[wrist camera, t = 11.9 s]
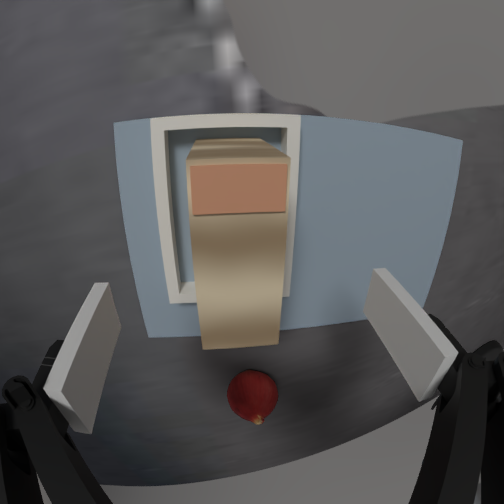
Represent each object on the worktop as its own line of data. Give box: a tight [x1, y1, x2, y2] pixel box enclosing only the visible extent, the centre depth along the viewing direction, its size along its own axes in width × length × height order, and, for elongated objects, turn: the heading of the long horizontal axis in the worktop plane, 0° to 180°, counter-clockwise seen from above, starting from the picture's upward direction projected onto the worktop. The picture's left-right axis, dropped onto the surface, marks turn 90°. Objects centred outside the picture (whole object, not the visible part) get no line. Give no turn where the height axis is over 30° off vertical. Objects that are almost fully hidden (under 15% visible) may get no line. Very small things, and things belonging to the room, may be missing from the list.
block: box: [186, 138, 291, 350], centre depth 21 cm, size 12×5×10 cm, turn 179°
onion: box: [227, 370, 278, 425], centre depth 32 cm, size 6×6×8 cm
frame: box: [150, 113, 301, 304], centre depth 24 cm, size 11×16×2 cm
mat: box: [114, 113, 463, 337], centre depth 28 cm, size 34×22×1 cm, turn 89°
